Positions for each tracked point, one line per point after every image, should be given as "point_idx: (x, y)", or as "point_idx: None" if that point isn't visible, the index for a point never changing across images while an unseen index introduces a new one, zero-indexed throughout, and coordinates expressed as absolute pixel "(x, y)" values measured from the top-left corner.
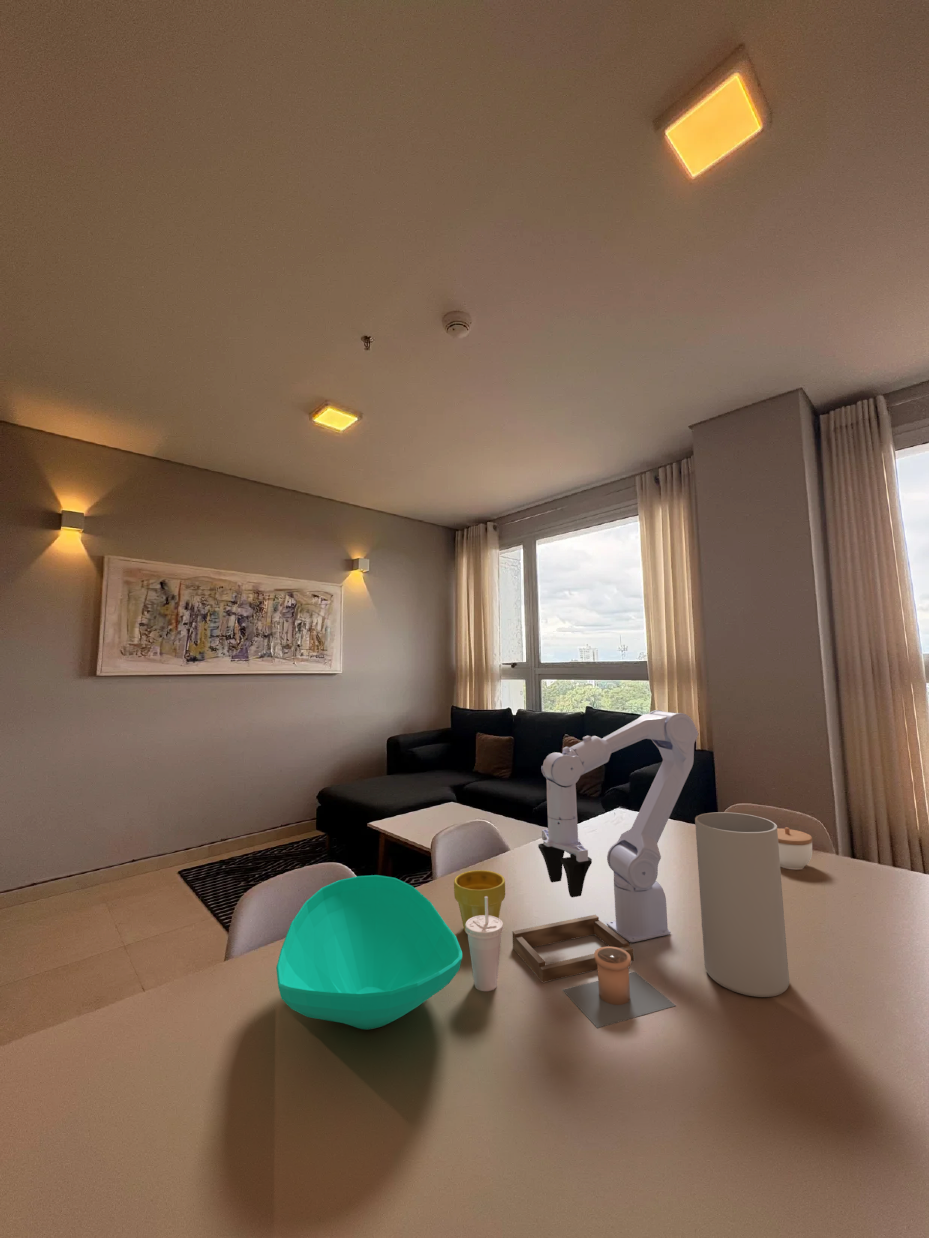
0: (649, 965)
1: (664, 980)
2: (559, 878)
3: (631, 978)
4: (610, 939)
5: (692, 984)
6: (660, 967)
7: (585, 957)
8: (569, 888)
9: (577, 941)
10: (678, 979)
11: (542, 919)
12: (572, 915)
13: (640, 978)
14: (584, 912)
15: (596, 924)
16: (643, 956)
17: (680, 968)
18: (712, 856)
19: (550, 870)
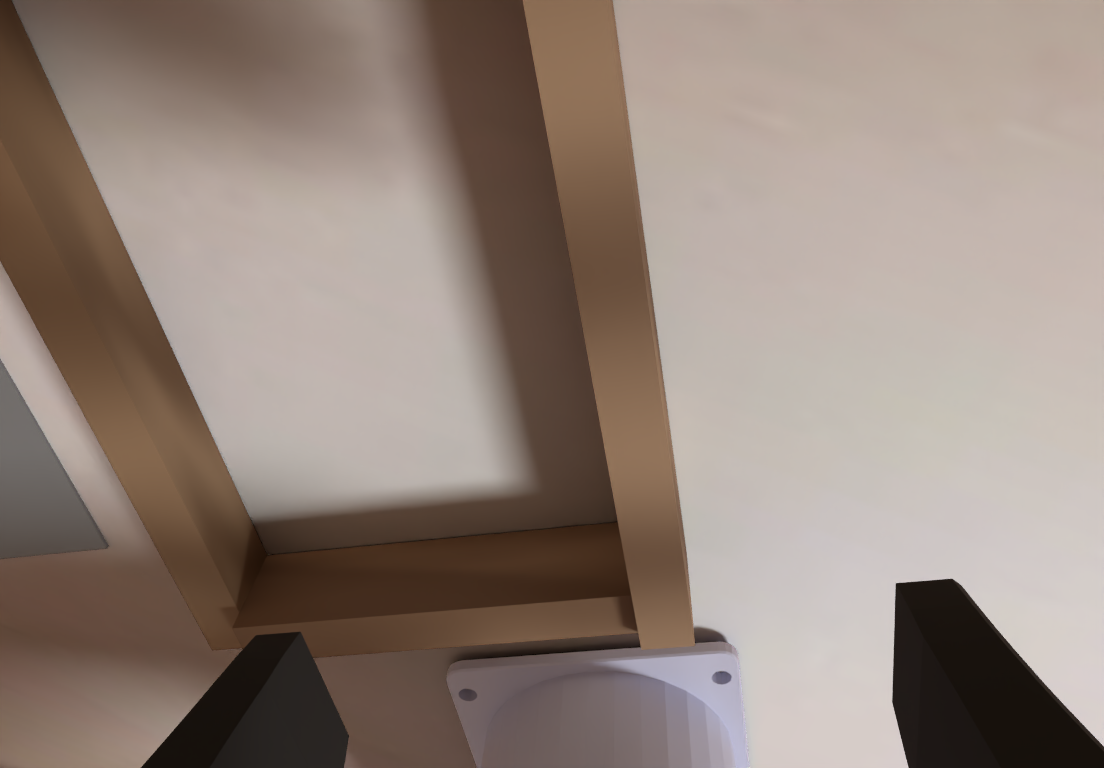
0: (189, 638)
1: (31, 634)
2: (908, 723)
3: (24, 500)
4: (402, 584)
5: (9, 717)
6: (168, 672)
7: (67, 321)
8: (184, 729)
9: (557, 374)
10: (50, 689)
11: (1078, 225)
12: (1007, 495)
13: (28, 542)
14: (1007, 589)
15: (586, 591)
16: None
17: (161, 739)
18: None
19: (977, 756)
